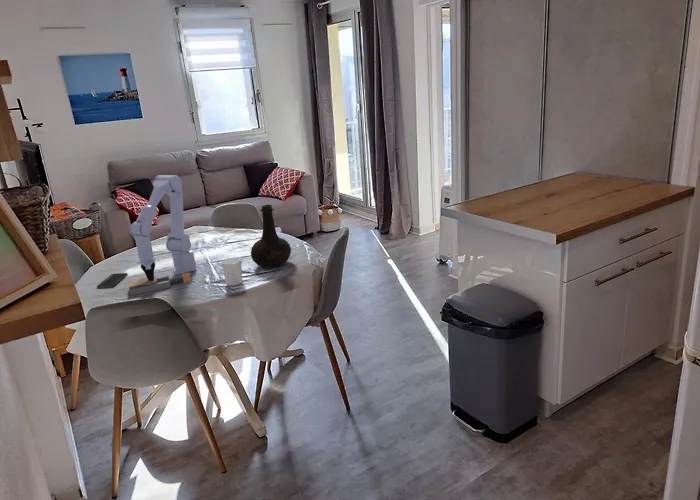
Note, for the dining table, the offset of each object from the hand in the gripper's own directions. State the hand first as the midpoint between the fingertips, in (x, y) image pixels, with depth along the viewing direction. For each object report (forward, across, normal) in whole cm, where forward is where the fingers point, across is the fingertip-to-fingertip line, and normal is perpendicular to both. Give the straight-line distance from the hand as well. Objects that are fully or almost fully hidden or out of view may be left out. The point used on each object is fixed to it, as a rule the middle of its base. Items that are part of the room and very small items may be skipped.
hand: (151, 280), depth 214 cm
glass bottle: (+3, +2, +52) cm, 52 cm away
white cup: (+4, +14, +32) cm, 35 cm away
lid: (+1, 0, -3) cm, 3 cm away
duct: (+3, 0, -1) cm, 4 cm away
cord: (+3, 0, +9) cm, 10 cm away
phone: (+4, -18, -16) cm, 24 cm away
